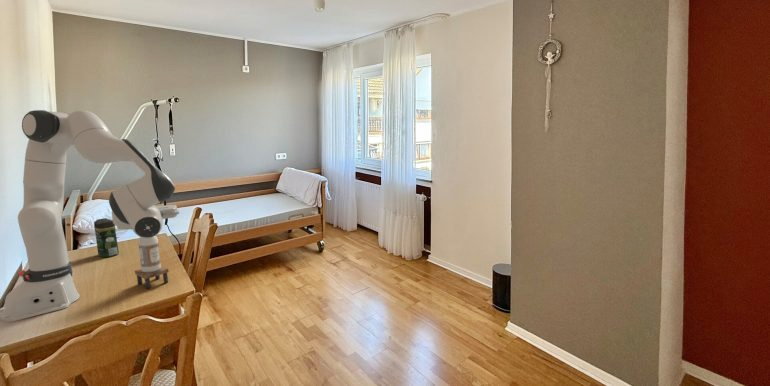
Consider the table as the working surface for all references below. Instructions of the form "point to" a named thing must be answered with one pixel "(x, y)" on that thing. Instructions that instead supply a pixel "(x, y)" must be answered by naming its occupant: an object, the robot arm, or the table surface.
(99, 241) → the coffee jar
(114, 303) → the table surface
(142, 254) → the bath foam
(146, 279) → the brown miniature table
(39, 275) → the robot arm
